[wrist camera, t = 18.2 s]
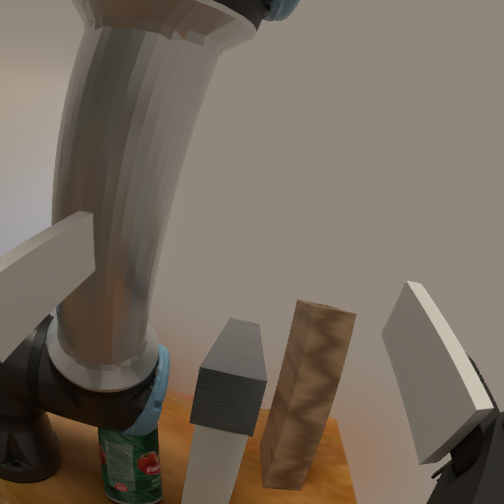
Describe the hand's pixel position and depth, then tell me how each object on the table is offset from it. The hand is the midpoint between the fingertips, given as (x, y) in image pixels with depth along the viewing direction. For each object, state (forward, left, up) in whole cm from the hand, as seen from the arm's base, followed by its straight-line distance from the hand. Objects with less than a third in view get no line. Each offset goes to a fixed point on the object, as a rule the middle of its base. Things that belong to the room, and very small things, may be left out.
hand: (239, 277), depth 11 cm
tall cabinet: (+12, +34, -32) cm, 48 cm away
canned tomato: (-8, +18, -31) cm, 37 cm away
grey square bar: (+1, +18, -10) cm, 20 cm away
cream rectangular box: (+1, +20, -32) cm, 37 cm away
